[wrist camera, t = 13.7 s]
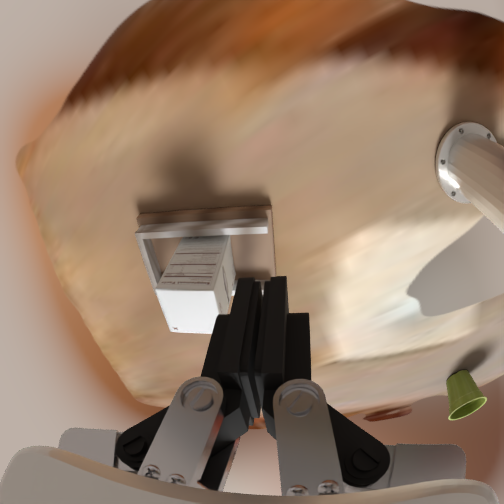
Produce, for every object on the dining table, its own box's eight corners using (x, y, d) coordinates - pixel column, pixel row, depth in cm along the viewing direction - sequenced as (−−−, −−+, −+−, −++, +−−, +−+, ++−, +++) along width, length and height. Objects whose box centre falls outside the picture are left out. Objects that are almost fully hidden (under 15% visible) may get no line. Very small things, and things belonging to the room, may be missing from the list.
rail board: (271, 205, 41) (270, 218, 38) (276, 284, 49) (275, 300, 46) (140, 213, 44) (129, 226, 40) (162, 285, 51) (154, 300, 48)
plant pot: (436, 392, 67) (444, 424, 58) (442, 372, 61) (453, 407, 52) (469, 380, 64) (480, 411, 55) (479, 358, 58) (492, 391, 49)
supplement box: (237, 274, 47) (224, 336, 36) (191, 274, 47) (168, 333, 37) (231, 232, 43) (214, 291, 32) (182, 234, 43) (152, 289, 33)
